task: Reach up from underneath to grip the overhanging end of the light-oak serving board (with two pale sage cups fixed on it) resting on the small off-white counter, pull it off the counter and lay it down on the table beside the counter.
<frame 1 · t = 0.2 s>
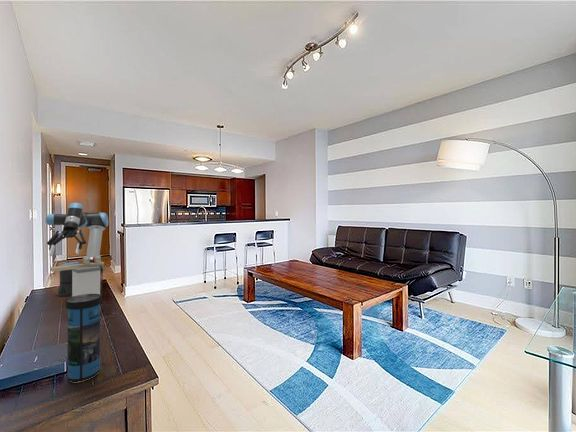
hand: (64, 254, 174), 36 cm above the table, tool tilted 35°, fingers open, 13 cm apart
advertising column: (84, 376, 110), on the table
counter: (86, 312, 177), on the table
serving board: (78, 268, 174), point 28 cm above the table, touching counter
cola bottle: (95, 298, 204), on the table
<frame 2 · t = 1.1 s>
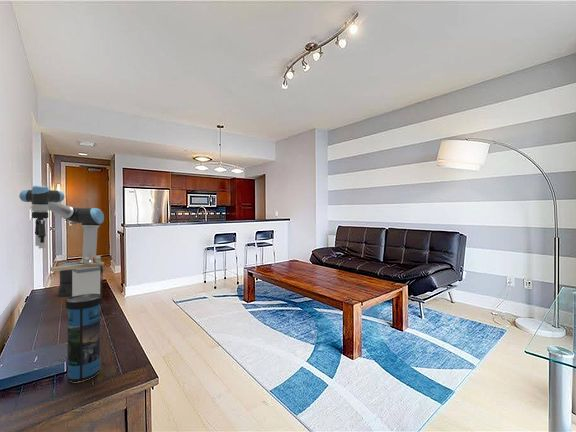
hand: (40, 247, 172), 41 cm above the table, tool pointing down, fingers open, 13 cm apart
nothing on the table moved.
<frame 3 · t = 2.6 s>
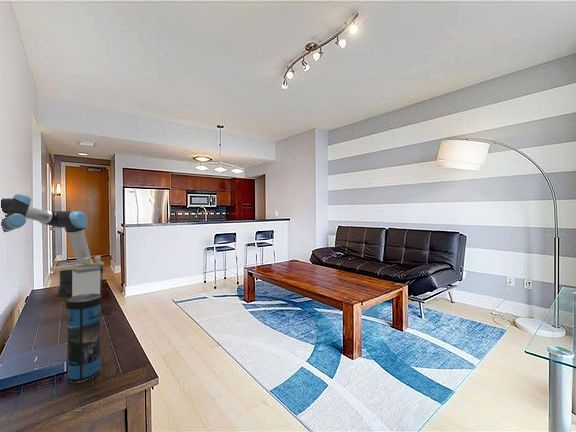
nothing on the table moved.
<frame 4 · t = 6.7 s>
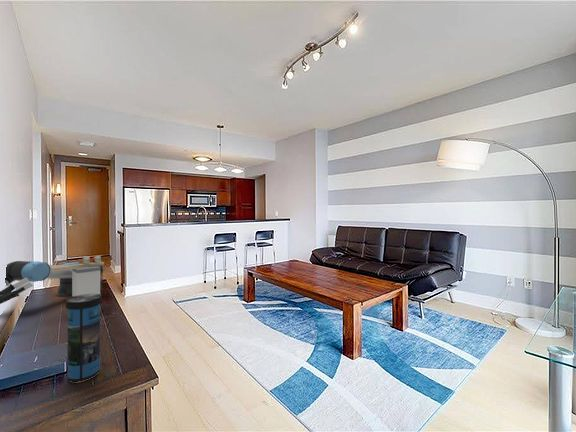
hand: (29, 281, 157), 24 cm above the table, tool pointing upward, fingers open, 13 cm apart
nothing on the table moved.
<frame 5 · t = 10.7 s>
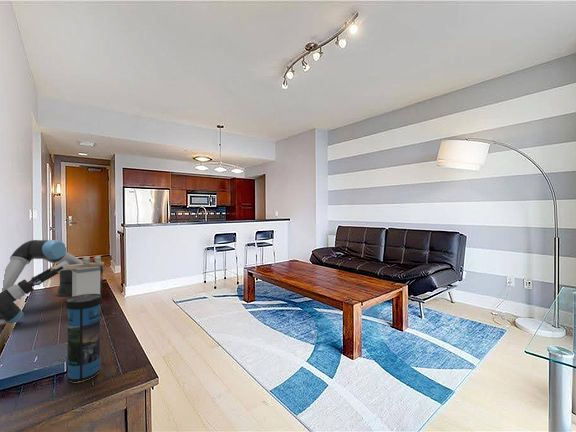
hand: (67, 263, 170), 32 cm above the table, tool pointing upward, fingers closed on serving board, 4 cm apart
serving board: (78, 268, 174), point 28 cm above the table, touching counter, gripper
everything else where it was.
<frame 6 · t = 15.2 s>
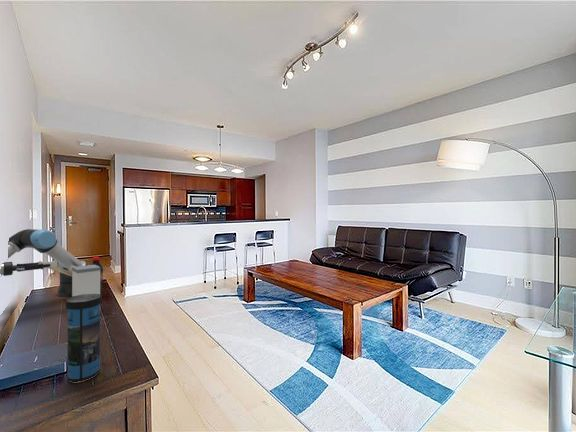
hand: (56, 263, 176), 30 cm above the table, tool horizontal, fingers closed on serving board, 4 cm apart
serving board: (61, 272, 178), point 24 cm above the table, tilted 30°, touching gripper
everything else where it was.
when the fingers open (14 cm above the table, at t = 17.9 s): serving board drops 8 cm, on the table.
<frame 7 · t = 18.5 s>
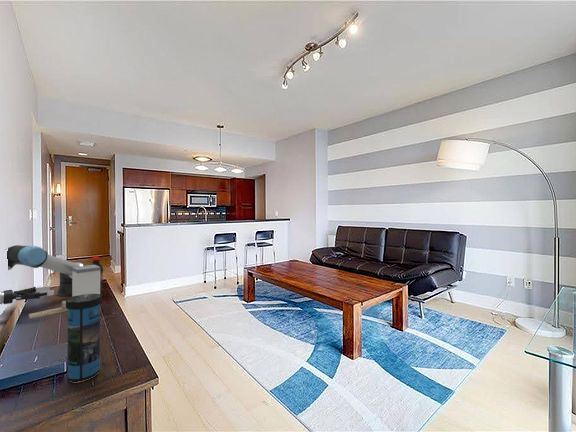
hand: (51, 290, 175), 14 cm above the table, tool horizontal, fingers open, 13 cm apart
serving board: (57, 312, 177), on the table
everything else where it was.
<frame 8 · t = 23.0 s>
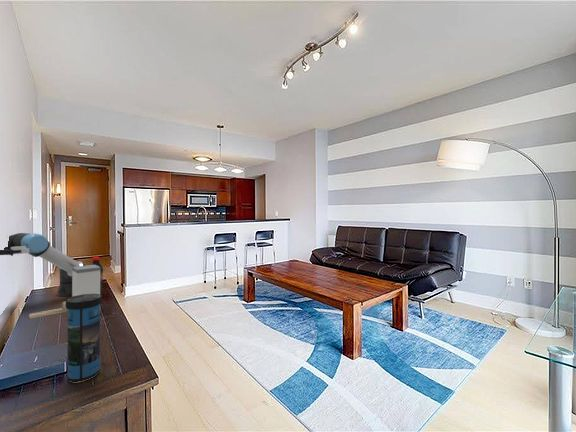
hand: (27, 249, 166), 40 cm above the table, tool horizontal, fingers open, 13 cm apart
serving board: (57, 312, 176), on the table
everything else where it was.
at the end: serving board inside the target area (3.4 cm from its centre), on the table; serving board touching table; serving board tilted 0° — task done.
